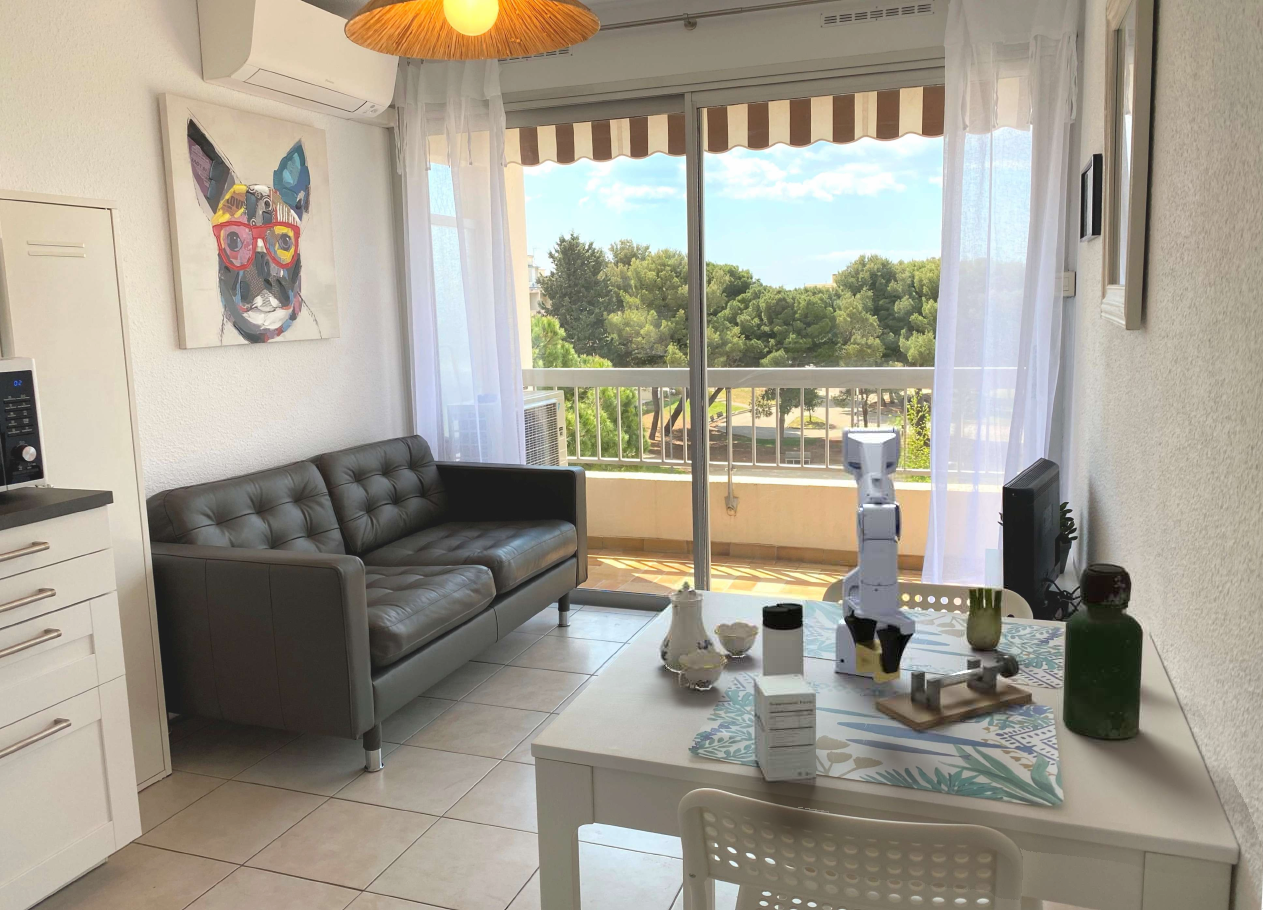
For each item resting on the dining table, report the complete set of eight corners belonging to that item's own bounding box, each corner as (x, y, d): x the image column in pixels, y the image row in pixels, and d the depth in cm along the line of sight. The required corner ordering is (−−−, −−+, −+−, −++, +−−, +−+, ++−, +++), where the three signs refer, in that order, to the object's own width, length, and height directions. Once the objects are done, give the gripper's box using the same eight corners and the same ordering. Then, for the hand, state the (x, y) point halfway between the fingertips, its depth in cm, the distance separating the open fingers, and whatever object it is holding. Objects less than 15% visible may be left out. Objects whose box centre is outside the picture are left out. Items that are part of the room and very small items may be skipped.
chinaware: (724, 710, 160) (732, 616, 158) (631, 690, 166) (638, 598, 163) (762, 655, 186) (769, 573, 183) (681, 639, 192) (687, 559, 189)
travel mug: (780, 739, 145) (779, 612, 142) (755, 724, 150) (753, 601, 148) (813, 730, 147) (812, 605, 145) (787, 715, 153) (786, 595, 150)
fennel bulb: (1003, 648, 181) (1004, 586, 180) (993, 655, 178) (994, 592, 176) (973, 642, 185) (974, 582, 183) (962, 649, 181) (963, 587, 180)
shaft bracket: (917, 730, 146) (918, 692, 145) (875, 707, 155) (875, 672, 154) (1031, 700, 156) (1032, 665, 155) (985, 680, 165) (986, 647, 164)
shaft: (947, 697, 153) (948, 675, 152) (931, 689, 156) (932, 668, 155) (1018, 679, 159) (1019, 658, 159) (1002, 672, 162) (1002, 652, 162)
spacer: (879, 683, 145) (879, 653, 144) (855, 671, 150) (855, 642, 149) (899, 678, 147) (900, 648, 146) (876, 667, 152) (876, 638, 151)
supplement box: (753, 758, 139) (752, 675, 137) (803, 755, 139) (803, 672, 137) (764, 782, 131) (763, 695, 130) (817, 778, 132) (817, 691, 130)
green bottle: (1049, 725, 147) (1054, 567, 143) (1084, 707, 153) (1090, 555, 149) (1116, 747, 138) (1123, 580, 135) (1151, 728, 144) (1158, 568, 141)
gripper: (828, 573, 151) (828, 656, 153) (888, 596, 138) (888, 685, 140) (864, 567, 154) (863, 648, 156) (926, 589, 141) (925, 677, 143)
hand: (877, 665), depth 148 cm, fingers closed on spacer, 6 cm apart
